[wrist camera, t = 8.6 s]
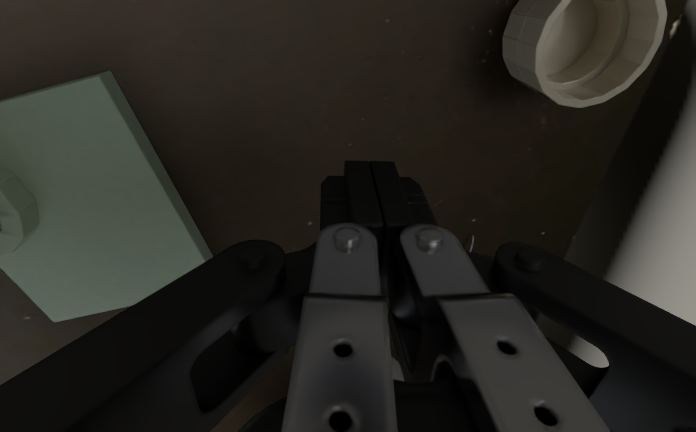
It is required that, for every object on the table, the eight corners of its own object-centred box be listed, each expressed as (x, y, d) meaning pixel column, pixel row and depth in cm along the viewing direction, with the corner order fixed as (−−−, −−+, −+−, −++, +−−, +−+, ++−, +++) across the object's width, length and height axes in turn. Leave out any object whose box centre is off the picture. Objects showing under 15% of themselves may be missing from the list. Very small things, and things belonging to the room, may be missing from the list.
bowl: (498, -14, 20) (538, -11, 16) (612, -44, 20) (680, -49, 16) (499, 96, 23) (533, 119, 20) (597, 72, 23) (651, 91, 19)
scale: (-119, 132, 23) (-175, 151, 20) (110, 69, 21) (82, 82, 19) (53, 312, 31) (29, 341, 29) (223, 274, 30) (214, 302, 27)
